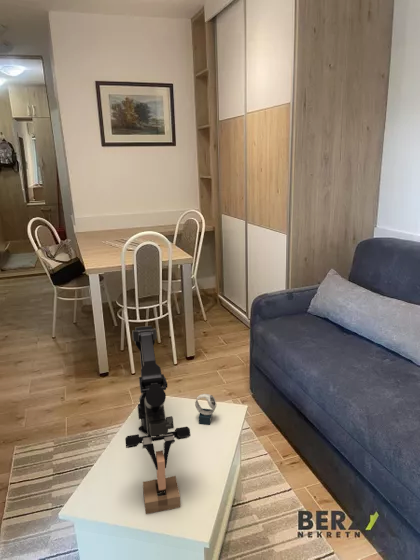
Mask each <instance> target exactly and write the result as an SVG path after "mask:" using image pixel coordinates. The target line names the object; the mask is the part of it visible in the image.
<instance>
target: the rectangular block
mask: <svg viewBox="0 0 420 560" xmlns="http://www.w3.org/2000/svg"><path fill="white" fill-rule="evenodd" d="M155 455H156V460H157V465H158V470H156V479H157V482H158V488H159V490H164V489H166V479H165V478H166V468H165V460H164V449H163V450H157V451H155Z"/></svg>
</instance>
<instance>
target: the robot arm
mask: <svg viewBox="0 0 420 560" xmlns="http://www.w3.org/2000/svg"><path fill="white" fill-rule="evenodd" d="M131 331H132V341H133V342H134V344H135V346H136V348H137V349H138V351H139V356H140V359H139V360H140V376H138V383H139V391H140V396H139V398H138V400H139V401H138V402H139V403H138V404H137V413H138V414H137V415H138V420H140V424H141V425H140V426H139V427H138V430H139V431H140V432H143V433H145V434H146V435H143V436H140V434H137V433H136V434H132V435H131V434H130V435H126V437H125V448H126V449H130V448H135V447H138V446H139V445H140V444H142V446H141V448H142V449H146V451H147V453H148V454H149V456H150V459H151V461H152V463H153V466H154V467H155V470H156V471H157V470H158V465H157V460H156V451H155V447H154V443H153V442H158V441H164V442H163V455H164V460H165V469H166V468H167V464H168V460H169V452H170V448H171V445H172V444H174V443H175V441H176V440H175V439H177V440H179V441H180V440H185V439H188V438H190V437H191V435H192V434H191V429H190V427H188V426H181V427H176V428H175V426H174V425H175V424H174V417H173V416H172V415H171V416H166V412H165V406H164V405H165V402H166V398H167V394H166V392H165V391H166V390H167V388H168V382H167V378H166V377H165V375H164V373H162V369H161V367H160V365H158V364H157V360H156V356H155V348H154V346H155V344H156V342H155V341H156V340H157V339H158V336H157V328H155V327H154V328H153V326H152V325H145V326H135V330H131ZM174 428H175V429H174ZM171 429H174V431H169V430H171Z"/></svg>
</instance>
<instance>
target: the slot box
mask: <svg viewBox="0 0 420 560" xmlns="http://www.w3.org/2000/svg"><path fill="white" fill-rule="evenodd" d="M165 479H166V489H164V490H159V488H158V482H157V478H156V479H151V480H146V481H142V492H143V500H144V502H143V503H144V509H145V515H148V514H153V513H158V512H162V511H163V512H164V511H167V510H174V509H178V508H181V495H180V490H179V486H178V481H177V477H176V475H173V476H168V477H166V476H165ZM163 493H164V495H158V494H163Z"/></svg>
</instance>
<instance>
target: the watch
mask: <svg viewBox="0 0 420 560" xmlns="http://www.w3.org/2000/svg"><path fill="white" fill-rule="evenodd" d="M201 398H202V399H205V400H206V401H207V404H208V406H209V408H202V407H201V405H200V404H199V401H198V400H199V399H201ZM194 403H195V404H194V405H195V408H196V410H197V412H198V413H199V414H198V425H203V426H205V425H206V426H210V425H211V423H212V419H213V414H214V412H215V410H216V408H217V400H216V399H215V397H214V396H213V395H212V394H209V393H201V394H199V395H198V396H197V397H196V400H195V402H194Z"/></svg>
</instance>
